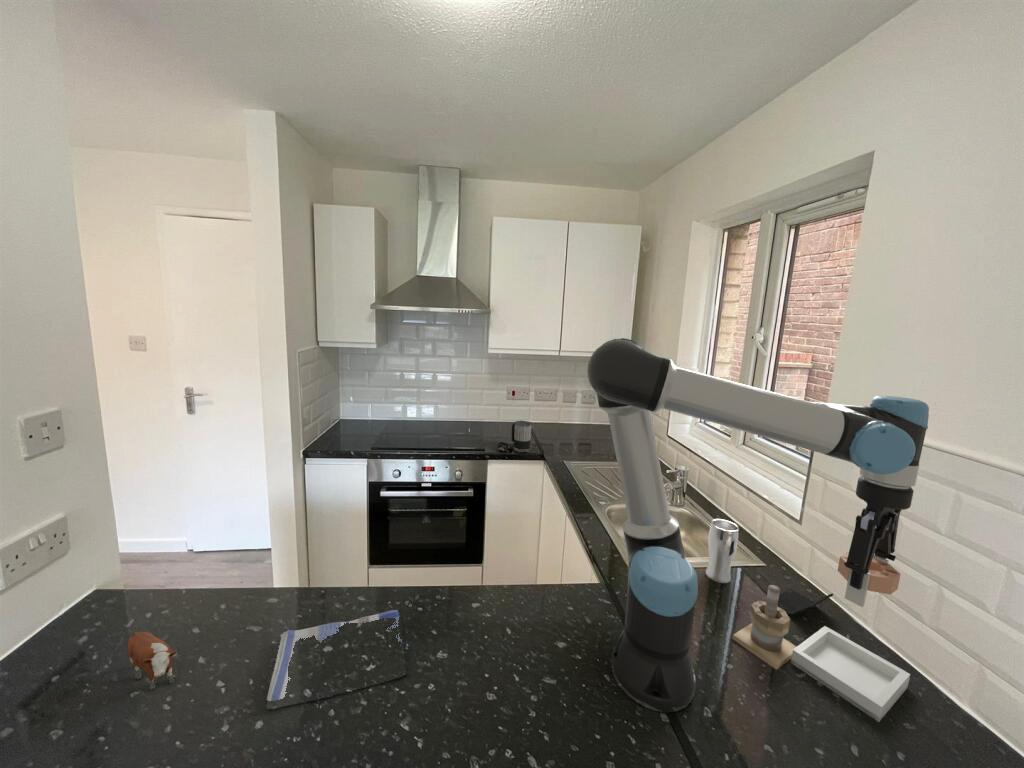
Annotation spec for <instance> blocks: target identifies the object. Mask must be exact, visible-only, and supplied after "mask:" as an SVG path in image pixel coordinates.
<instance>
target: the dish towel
mask: <svg viewBox="0 0 1024 768" xmlns="http://www.w3.org/2000/svg"><path fill="white" fill-rule="evenodd" d="M398 611H399V610H397V609H393V610H388V611H384V612H381V613H377V614H373V615H367V616H362V617H359V619H358V618H357V619H354V620H353V619H352V620H349V621H336V622H330V623H329V622H328V623H323V624H319V625H317V626H312V627H307V628H303V629H296V630H292V629H288V630H287V631H284V632H283V633H281V634H280V636H279V637H280V641H279V644H280V645H278V648H279V649H277V652H278V653H276V657H277V658H275V662H276V663H275V662H274V667H273V670H274V671H272V675H271V677H270V678H271V679H270V682H269V683H270V684H269V688H268V692H267V697H266V700H268V701H276V700H280V699H283V698H284V697H285V694H286V693H287V692H285V691H286V688H287V687H286V686H287V683H288V680H289V681H290V679H291V678H290V677H288V666H289V662H290V660H291V659H290V658H291V657H292V654H293V653H294V652H293V648H294V645H295V642H296V641H297V640H299V639H300V638H301V639H302V638H303V639H304V638H305V639H306V638H308V637H309V638H310V637H312V636H313V635H314V636H315V638H316V640H319V641H320V643H321V642H322V640H324V639H326V638H327V636H331V635H333V634H336V633H337V632H336V631H338V632H339V629H338V628H339V627H341V626H343V625H344V623H345V624H346V623H349V624H350V623H363V622H364V623H366V622H371V621H375V620H379V619H382V618H395V619H396V621H395V622H396V623H397V624H396V623H395V622H394V623H395V624H396V625H395V624H394V623H393V624H394V625H392V626H391V627H392V629H393V628H396V626H397V627H398V626H399V625H398V623H399V622H398V620H399V617H400V612H398ZM394 626H395V627H394ZM391 627H390V628H389V627H388V628H389V629H391ZM336 628H337V629H336ZM388 628H387V629H388ZM399 634H400V633H399ZM399 634H398V638H397V635H396V638H397V639H398V642H399V641H401V643H402V639H400V637H399ZM323 638H324V639H323ZM305 639H304V640H305ZM319 641H318V642H319ZM324 642H325V641H324ZM400 646H401V645H400ZM288 678H289V679H288ZM332 683H333V682H332Z"/></svg>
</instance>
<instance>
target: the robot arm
mask: <svg viewBox="0 0 1024 768" xmlns="http://www.w3.org/2000/svg"><path fill="white" fill-rule="evenodd" d="M586 370H587V371H586V372H587V378H588V382H589V384H590V386H591V388H592V389H593V390H594V392H595V393H596V398H597V403H598V407H599V409H601V410H602V411H603V412H605V413H606V414H607V415H608V416H607V417H608V421H609V425H610V431H611V432H610V433H611V437H612V441H613V446H614V452H615V457H616V461H617V462H616V463H617V467H618V468H617V469H618V472H619V478H620V479H619V480H620V484H621V489H622V492H623V493H622V494H623V498H624V503H625V508H626V514H627V519H626V520H625V521H624V522H623V525H622V530H623V536H624V540H625V547H626V552H627V557H628V558H627V559H628V565H627V566H628V567H627V568H628V569H627V570H628V573H627V577H628V579H627V595H626V604H625V605H626V607H625V616H624V627H623V630H622V632H621V633H620V636H619V638H618V639H617V641H616V643H615V645H614V647H613V649H612V654H611V661H612V667H613V670H614V673H615V675H616V677H617V678H618V680H619V682H620V683H621V684H622V686H623V687H624V688H625V689H626V690H627V691H628V692H629V693H630V694H631V695H632V696H633V697H635V698H636V699H638V700H640V701H642V702H645V703H647V704H649V705H650V706H652V707H654V708H656V709H658V710H661V711H663V712H662V713H665V714H667V713H668V714H670V713H669V711H670V709H671V708H672V707H675V708H677V707H681V706H685V705H687V704H688V703H689V702H691V700H692V699H693V700H694V698H693V697H695V694H694V693H695V692H696V686H697V683H696V682H697V680H696V678H697V677H696V675H695V674H696V673H695V670H694V667H693V663H692V659H691V653H690V647H691V646H690V645H691V639H692V631H693V624H694V616H695V608H696V601H697V599H698V593H699V587H698V575H697V572H696V570H695V568H694V566H693V565H692V563H691V562H690V561H689V560H688V559H687V558H686V556H685V547H684V544H683V543H684V542H683V540H682V536H681V535H682V534H681V529H680V524H679V522H678V519H677V518H675V517H674V516H672V515H671V514H670V510H669V506H668V500H667V499H668V498H667V495H666V490H665V489H666V488H665V484H664V479H663V473H662V469H661V463H660V458H659V452H658V447H657V442H656V441H657V440H656V437H655V431H654V425H653V420H652V414H651V412H653V413H656V412H658V411H660V410H663V409H664V410H667V411H671V412H674V413H677V414H681V415H685V416H687V417H688V416H689V417H692V418H695V419H699V420H702V421H705V422H710V423H713V424H717V425H720V426H724V427H727V428H730V429H734V430H738V431H742V432H745V433H749V434H751V435H755V436H760V437H763V438H767V439H769V440H772V441H773V440H774V441H778V442H780V443H783V444H787V445H791V446H795V447H798V448H801V449H805V450H808V451H813V452H816V453H820V454H823V455H825V456H827V457H832V458H835V459H839V460H842V461H846V462H849V463H852V464H854V465H855V466H857V467H858V468H860V469H859V474H860V475H861V476H859V477H857V484H856V489H855V495H856V496H857V498H859V499H860V500H862V501H864V502H865V503H866V507H865V508H863V509H861V510H862V511H861V514H860V515H859V514H857V516H855V525H854V526H855V527H854V530H853V535H852V540H851V543H850V547H849V551H848V552H849V554H848V558H847V562H845V563H844V565H845V566H846V567H848V568H850V571H849V577H848V581H847V584H846V588H845V589H846V590H845V595H844V599H845V600H847V601H850V602H851V603H852V604H855V605H857V606H859V607H861V608H863V607H865V603H866V598H867V594H868V593H867V592H868V590H867V588H868V583H869V578H870V573H869V568H870V565H871V562H872V559H873V558H876V559H878V560H881V561H883V562H885V563H888V564H889V560H890V561H892V562H894V561H895V560H896V556H895V555H894V553H895V551H896V550H895V549H896V543H897V542H896V541H897V533H898V529H899V527H898V526H899V520H900V514H901V512H902V511H903V510H908V509H910V508H911V506H912V501H913V496H914V489H913V488H912V487H914V486H916V484H917V478H918V474H919V473H918V472H919V468H920V460H921V455H922V452H923V451H922V450H923V446H924V442H925V438H926V432H927V430H928V428H929V426H928V423H929V412H930V407H929V404H927V403H926V402H925V401H923V400H919V399H914V398H910V397H902V396H894V395H893V396H891V395H876V396H874V397H873V398H872V400H871V402H870V404H869V405H865V406H864V405H850V404H841V403H831V402H829V403H827V402H820V401H808V400H804V399H800V398H796V397H792V396H788V395H785V394H781V393H778V392H773V391H770V390H766V389H761V388H759V387H754V386H751V385H748V384H747V385H746V384H743V383H739V382H736V381H735V382H734V381H732V380H727V379H724V378H721V377H716V376H712V375H709V374H705V373H702V372H698V371H694V370H690V369H685V368H683V367H679V366H676V365H675V364H674V362H673V360H672V359H671V358H667V357H664V356H663V357H662V356H660V355H656V354H653V353H651V352H649V351H647V350H645V349H644V347H643V346H642V345H641V344H639V343H638V342H636V341H635V340H632V339H629V338H623V337H621V338H613V339H611V340H608V341H606V342H604V343H603V344H601V345H600V346H599V347H597V348H596V350H594V351H593V352H592V354H591V356H590V358H589V361H588V364H587V369H586ZM691 703H692V702H691Z"/></svg>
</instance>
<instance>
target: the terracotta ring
mask: <svg viewBox="0 0 1024 768" xmlns="http://www.w3.org/2000/svg"><path fill="white" fill-rule="evenodd" d="M848 554H849V551H847V552H845V553H843V554H841V555H840V556H839V561H838V566H837V572H838V573H839V574H840V575H841V576H842V577H843V578H844V579H845V580H846V581H847V582H848V577H849V571H850V568H848V567H846V566H845V565H844V563H845V562H847V558H848ZM869 573H870V578H869V583H868V588H867V592H873V593H879V594H887V595H892V594H893V593H894V592H896V591H897V590H898V589H899V583H900V579H901V573H900V572H899V571H898V570H897V569H895V568H894V567H893V566H892V565H891V564H890V563H889V562H888V563H885V562H883V561H881V560H878V559H876V558H873V559H872V562H871V565H870V568H869Z"/></svg>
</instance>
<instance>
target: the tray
mask: <svg viewBox="0 0 1024 768" xmlns="http://www.w3.org/2000/svg"><path fill="white" fill-rule="evenodd" d="M796 646H797V647H796V648H795V649H793V652H792V658H791V659H790V663H791V664H792V665H793V666H795V667H796V668H797V669H799V670H800V671H802V672H804V673H806V675H808V676H810V677H811V678H812V679H814V680H815V681H817V682H818V683H820V684H821V685H823V686H825V688H828V689H829V691H832V692H833V693H835V694H836V695H837V696H840V697H841V698H843V699H844V700H845V701H847V703H850V704H851V705H853V706H854V707H855V708H857V709H859V710H860V711H862V712H863V713H864V714H866V715H868V716H869V717H871V718H872V719H873V720H875V721H877V722H878V723H880V721H881V720H883V718H884V716H886V715H887V713H888V712H889V711H890V710H891V708H892V707H893V706H894V705H895V703H896V702H897V701H898V699H900V698H901V696H902V695H903V694H904V692H905V691H906V690H907V689H908V687H909V682H910V678H911V673H909V672H907V671H906V670H904V669H902V668H901V667H898V666H897V665H895V664H894V663H891V662H890V661H888V660H886V659H884V658H882V657H881V656H880V655H877V654H876V653H874V652H872V651H870V650H868V649H866V648H865V647H863V646H861V645H859V644H858V643H856V642H854V641H852V640H851V639H849V638H847V637H845V636H844V635H842V634H840V633H839V632H837V631H835V630H833V629H832V628H830V627H827V626H826V625H824V626H823V627H821V628H820V629H818V631H816V632H814V633H813V634H812V635H810V636H809V637H808V638H807V639H805V640H804V641H803V642H801V643H800V644H799V645H796Z"/></svg>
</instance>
